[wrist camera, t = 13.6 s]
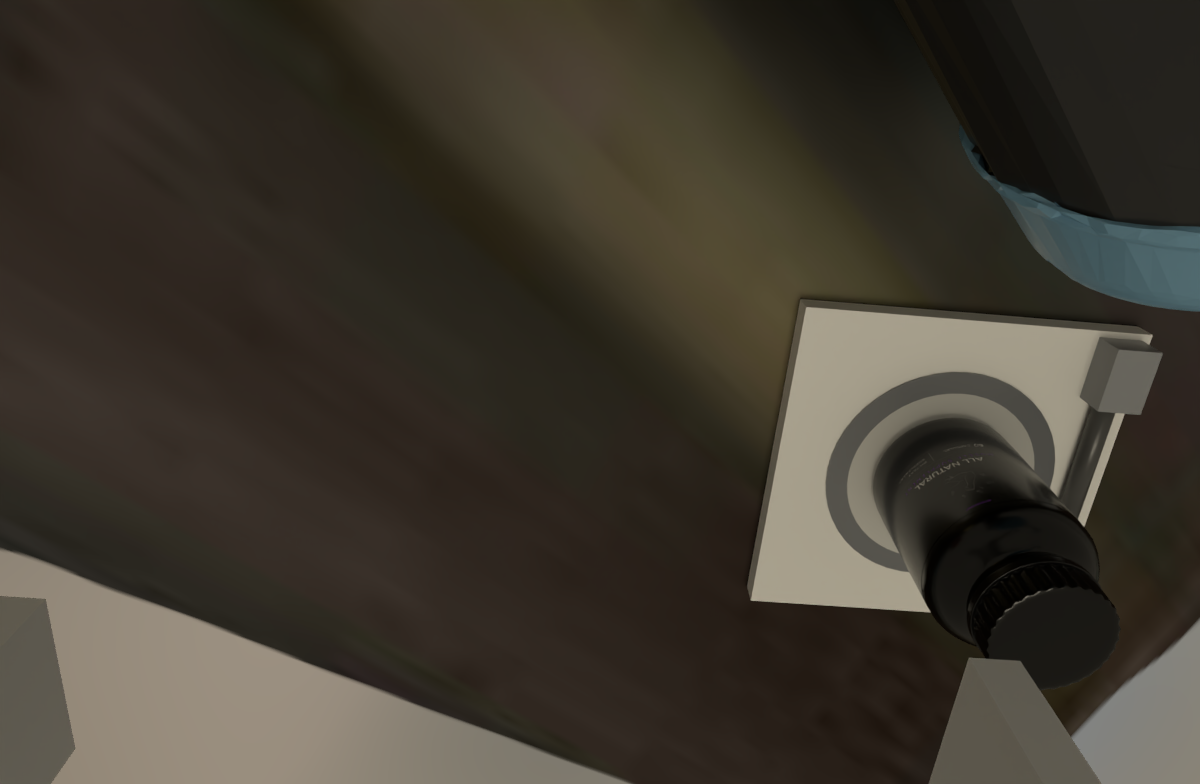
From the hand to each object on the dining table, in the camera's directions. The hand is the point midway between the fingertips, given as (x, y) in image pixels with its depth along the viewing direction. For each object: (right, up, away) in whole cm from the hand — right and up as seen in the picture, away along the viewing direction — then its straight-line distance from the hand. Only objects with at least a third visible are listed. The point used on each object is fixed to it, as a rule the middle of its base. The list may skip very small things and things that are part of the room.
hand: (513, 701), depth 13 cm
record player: (+18, +1, +31) cm, 36 cm away
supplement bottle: (+18, 0, +30) cm, 35 cm away
